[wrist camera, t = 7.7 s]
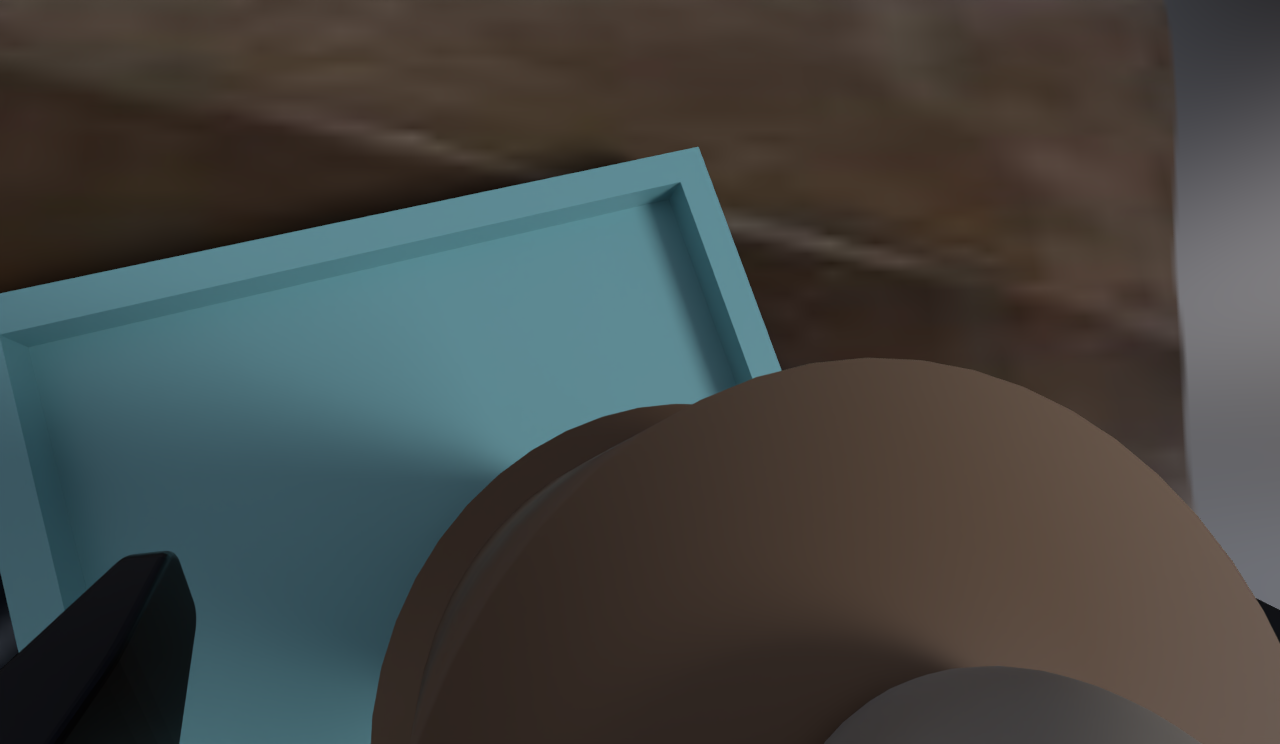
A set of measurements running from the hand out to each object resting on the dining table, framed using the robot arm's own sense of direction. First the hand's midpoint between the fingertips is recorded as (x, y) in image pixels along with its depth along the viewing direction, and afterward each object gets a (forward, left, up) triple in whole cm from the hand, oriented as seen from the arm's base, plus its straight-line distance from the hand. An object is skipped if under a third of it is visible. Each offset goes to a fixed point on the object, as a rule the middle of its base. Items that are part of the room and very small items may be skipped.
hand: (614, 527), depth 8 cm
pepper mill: (-1, 0, -8) cm, 9 cm away
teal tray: (-1, +1, -9) cm, 10 cm away
